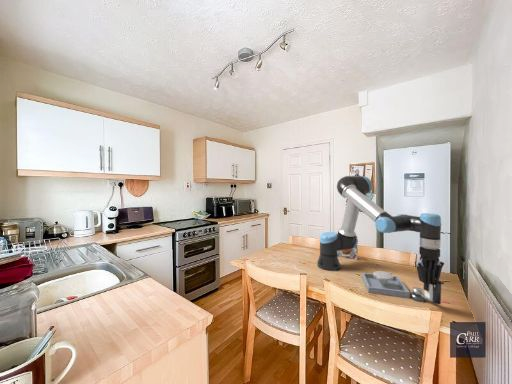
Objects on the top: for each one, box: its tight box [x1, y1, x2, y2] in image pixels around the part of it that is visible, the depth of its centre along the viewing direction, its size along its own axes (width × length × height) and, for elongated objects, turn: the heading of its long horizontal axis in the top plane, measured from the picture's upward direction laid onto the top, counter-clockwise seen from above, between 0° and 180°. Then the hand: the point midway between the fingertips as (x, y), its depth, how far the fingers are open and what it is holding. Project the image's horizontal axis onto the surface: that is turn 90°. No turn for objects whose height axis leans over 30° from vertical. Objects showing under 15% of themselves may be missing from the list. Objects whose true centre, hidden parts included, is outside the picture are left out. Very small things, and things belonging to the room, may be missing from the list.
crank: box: [412, 280, 445, 305], centre depth 104 cm, size 12×4×11 cm, turn 26°
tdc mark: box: [441, 300, 450, 304], centre depth 105 cm, size 3×1×1 cm, turn 73°
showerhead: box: [373, 270, 394, 286], centre depth 121 cm, size 9×7×10 cm
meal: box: [337, 245, 359, 261], centre depth 166 cm, size 15×4×13 cm, turn 53°
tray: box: [361, 272, 411, 299], centre depth 120 cm, size 19×19×3 cm
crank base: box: [409, 291, 426, 303], centre depth 108 cm, size 6×6×2 cm
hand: (428, 297), depth 100 cm, fingers closed
